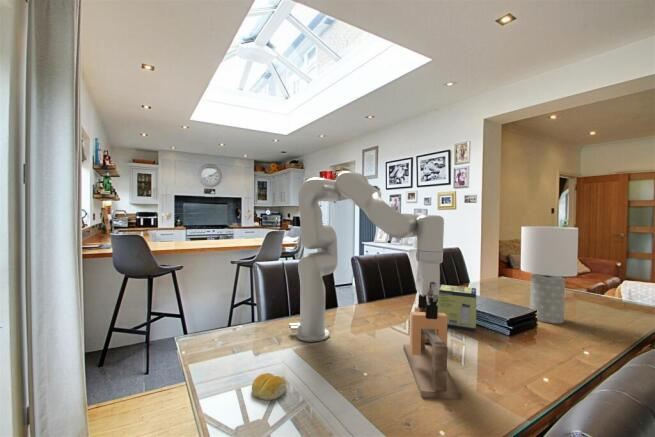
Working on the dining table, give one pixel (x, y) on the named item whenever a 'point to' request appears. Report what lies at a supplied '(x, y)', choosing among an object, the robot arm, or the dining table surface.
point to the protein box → (458, 306)
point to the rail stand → (432, 368)
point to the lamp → (549, 267)
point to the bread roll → (268, 386)
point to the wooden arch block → (422, 323)
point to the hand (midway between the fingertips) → (427, 312)
